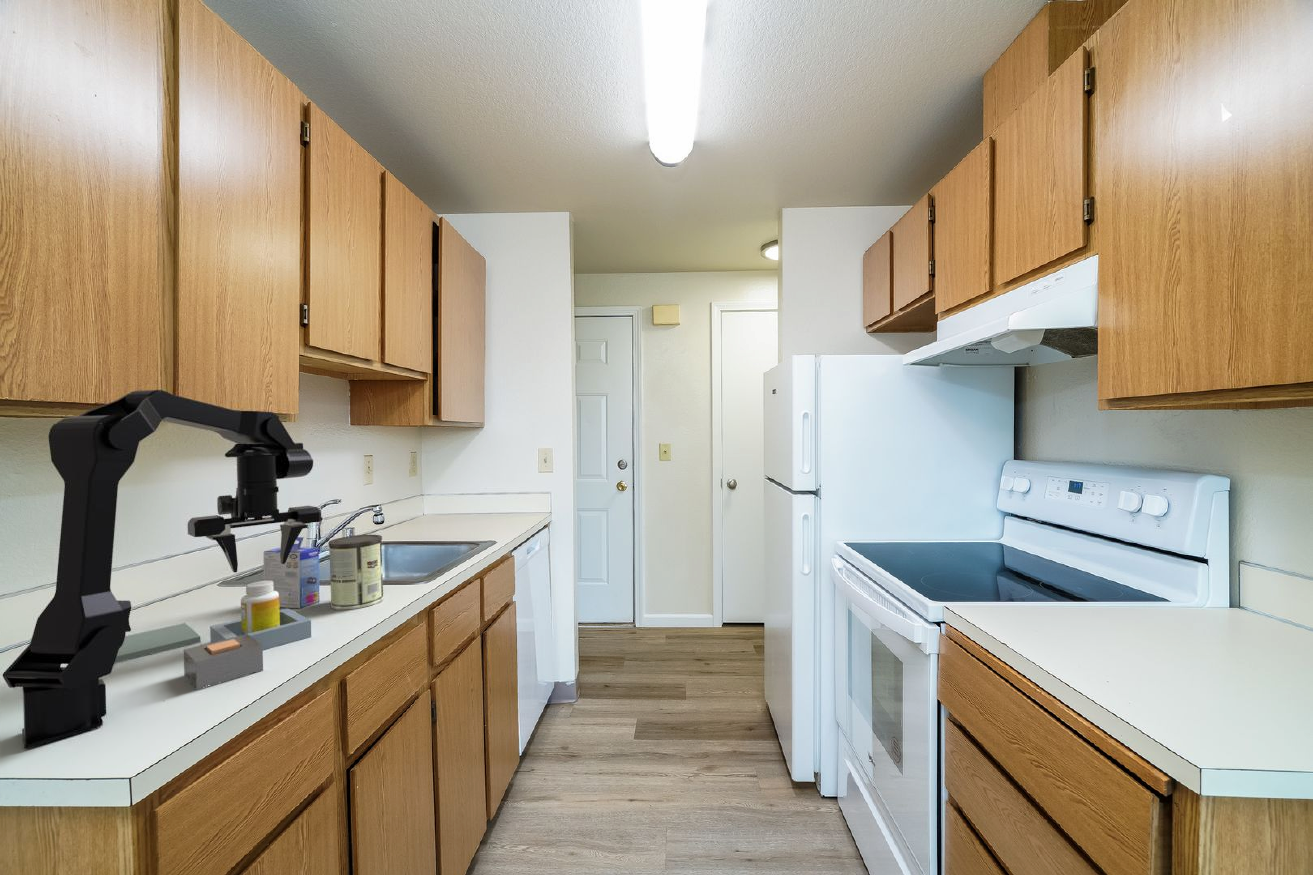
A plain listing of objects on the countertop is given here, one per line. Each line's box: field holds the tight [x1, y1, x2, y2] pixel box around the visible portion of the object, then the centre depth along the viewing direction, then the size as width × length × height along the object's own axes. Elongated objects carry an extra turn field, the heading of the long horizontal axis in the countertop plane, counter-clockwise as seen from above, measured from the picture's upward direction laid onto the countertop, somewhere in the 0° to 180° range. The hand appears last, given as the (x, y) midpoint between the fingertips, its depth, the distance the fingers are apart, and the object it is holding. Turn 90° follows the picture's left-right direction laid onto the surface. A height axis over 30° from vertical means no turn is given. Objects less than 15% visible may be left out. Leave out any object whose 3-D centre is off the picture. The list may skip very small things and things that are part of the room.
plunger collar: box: [183, 634, 264, 690], centre depth 83 cm, size 8×8×4 cm
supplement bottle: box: [240, 580, 280, 635], centre depth 97 cm, size 6×6×10 cm
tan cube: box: [206, 639, 240, 655], centre depth 83 cm, size 3×3×3 cm
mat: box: [114, 622, 202, 664], centre depth 96 cm, size 12×12×1 cm
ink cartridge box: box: [262, 536, 320, 609], centre depth 118 cm, size 10×6×14 cm, turn 78°
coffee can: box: [328, 534, 384, 611], centre depth 118 cm, size 10×10×14 cm
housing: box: [209, 607, 312, 651], centre depth 97 cm, size 12×12×3 cm
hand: (259, 567), depth 97 cm, fingers open, 7 cm apart
